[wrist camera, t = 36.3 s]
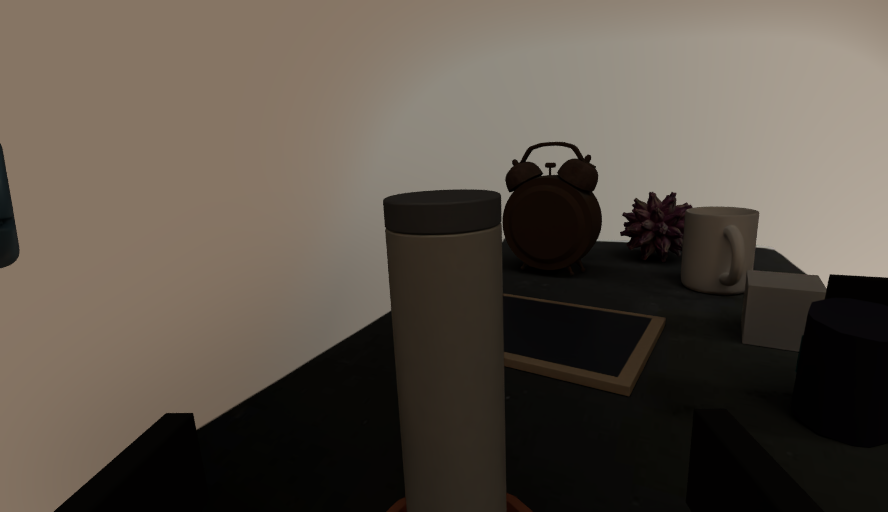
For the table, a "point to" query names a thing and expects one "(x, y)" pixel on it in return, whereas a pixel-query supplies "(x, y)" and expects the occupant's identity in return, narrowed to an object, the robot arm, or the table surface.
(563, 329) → the picture frame
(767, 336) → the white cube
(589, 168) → the alarm clock
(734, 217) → the mug
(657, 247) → the flower
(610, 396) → the table surface
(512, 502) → the bowl
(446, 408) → the grey-capped cream cylinder
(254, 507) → the table surface
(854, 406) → the speaker
